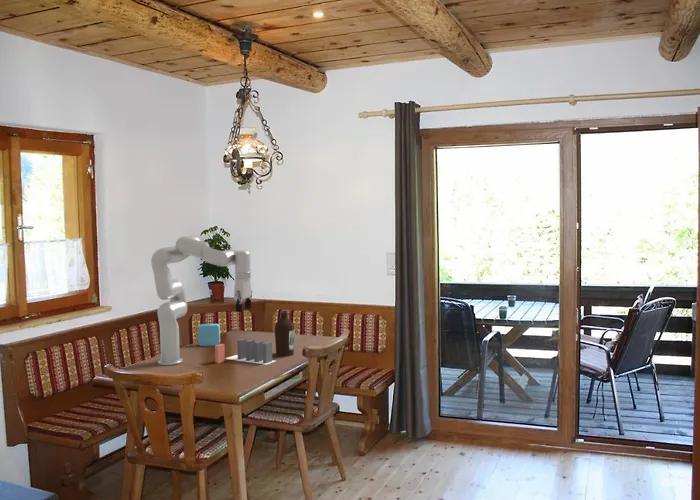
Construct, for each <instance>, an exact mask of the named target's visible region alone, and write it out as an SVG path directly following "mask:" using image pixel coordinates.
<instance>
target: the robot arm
mask: <svg viewBox="0 0 700 500" xmlns="http://www.w3.org/2000/svg"><path fill="white" fill-rule="evenodd" d="M191 256H192V257H195V258H199V259H200V260H202V261H203V262H205V263H208V264H211V265H215V266H218V267H227V266H233V265H234V287H233V288H234V289H233V298H234V303H235V312H236V313H242V312H243V303H242V302H243V301H244V309H249V310H250V309H252V297H253V290H252V285H251V284H252V283H251V279H252V278H251V275H252V274H251V273H252V272H251V271H252V270H251V252H250V251H249V250H235V249H228V250H219V249H215V248H212V247H210V244H209V243H208V242H206V241H203V240H200V238H199V237H197V236H196V235H187V236H186V235H184V236H180V237H179V238H178V239H176V241H175V246H165V247H161V248H159V249H157V250H156V251H154V253H153V254H152V256H151V261H150V264H151V265H150V266H151V269H152V273H153V276H154V284H155V288H156V294H157V295H156V296H157V297H158V299H160V300H162V301H163V300H164V301H166V302H164V303H162V304H160V306H159V307H158V309H157V312H156V313H157V318H158V324H159V340H160V341H159V343H160V359H158V361H157V364H158V365H162V366H173V365H179V364H182V363H183V362H184V358H181V355H180V354H181V353H180V351H181V350H180V349H181V348H180V328H179V327H180V326H179V323H178V321H177V319H181V318H182V317H184V316H186V315H187V312H188V301H187V297H186V291H185V287H184V284H183V283H182V282H181V281H180V280H178V279H173V278H172V272H171V269H170V268H169V266H168V265H169V264H176V263H180V262H182V261H184V260H186V259H187V258H189V257H191ZM167 300H169V301H168V302H167Z"/></svg>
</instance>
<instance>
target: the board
mask: <svg viewBox="0 0 700 500" xmlns="http://www.w3.org/2000/svg"><path fill="white" fill-rule="evenodd" d="M225 360H233V361H237V362H247V363H252V364H257V365H258V364H260V365H264V366H265V365H266V366H267V365H270V364H272V363H275V362H276V360H273V359H272V362H269V363H263V360H262V361H260V362H255V359H253V360H250V361H246V358H244V359H241V360H240V359H238V354H235V355H232V356H228V357H225Z"/></svg>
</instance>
